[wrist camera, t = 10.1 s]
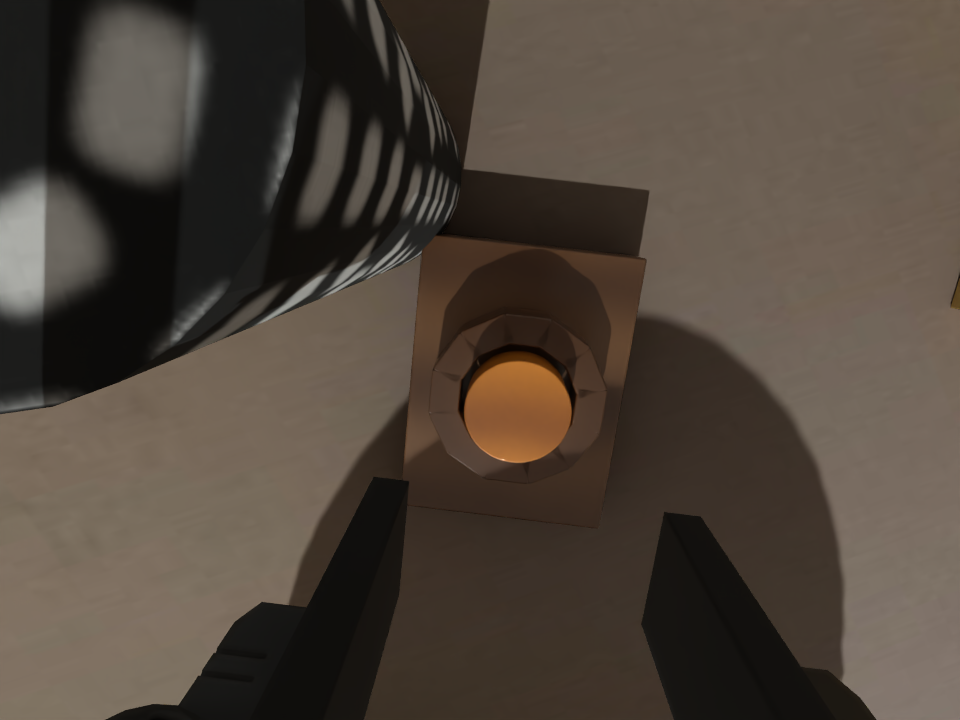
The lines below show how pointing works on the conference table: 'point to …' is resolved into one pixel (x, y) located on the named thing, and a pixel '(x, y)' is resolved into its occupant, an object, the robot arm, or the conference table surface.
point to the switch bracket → (956, 298)
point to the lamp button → (517, 407)
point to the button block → (518, 327)
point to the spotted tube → (198, 176)
